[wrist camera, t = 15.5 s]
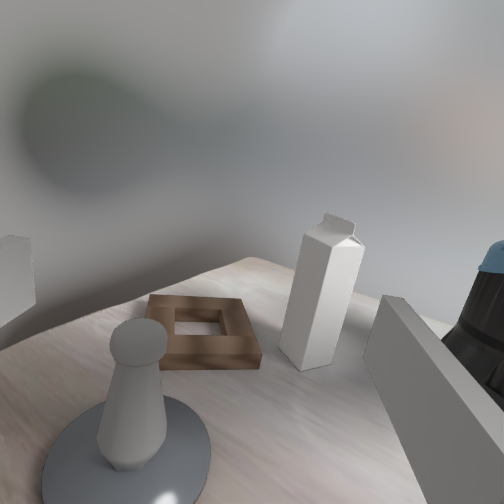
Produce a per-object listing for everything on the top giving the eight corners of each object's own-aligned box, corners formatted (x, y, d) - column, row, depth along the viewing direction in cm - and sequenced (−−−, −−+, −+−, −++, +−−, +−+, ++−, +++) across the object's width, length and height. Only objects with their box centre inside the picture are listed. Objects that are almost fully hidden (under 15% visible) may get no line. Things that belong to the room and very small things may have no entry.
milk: (299, 372, 45) (338, 222, 38) (277, 347, 50) (307, 210, 43) (331, 364, 48) (372, 224, 41) (307, 341, 53) (340, 212, 46)
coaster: (204, 398, 37) (205, 391, 37) (217, 536, 24) (218, 528, 24) (72, 402, 34) (72, 395, 33) (6, 566, 21) (5, 557, 20)
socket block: (238, 310, 58) (241, 298, 58) (259, 369, 44) (262, 354, 43) (148, 307, 54) (149, 294, 54) (137, 370, 40) (138, 353, 39)
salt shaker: (82, 476, 26) (82, 341, 22) (114, 419, 31) (119, 303, 27) (152, 488, 26) (165, 355, 22) (172, 429, 31) (185, 315, 27)
